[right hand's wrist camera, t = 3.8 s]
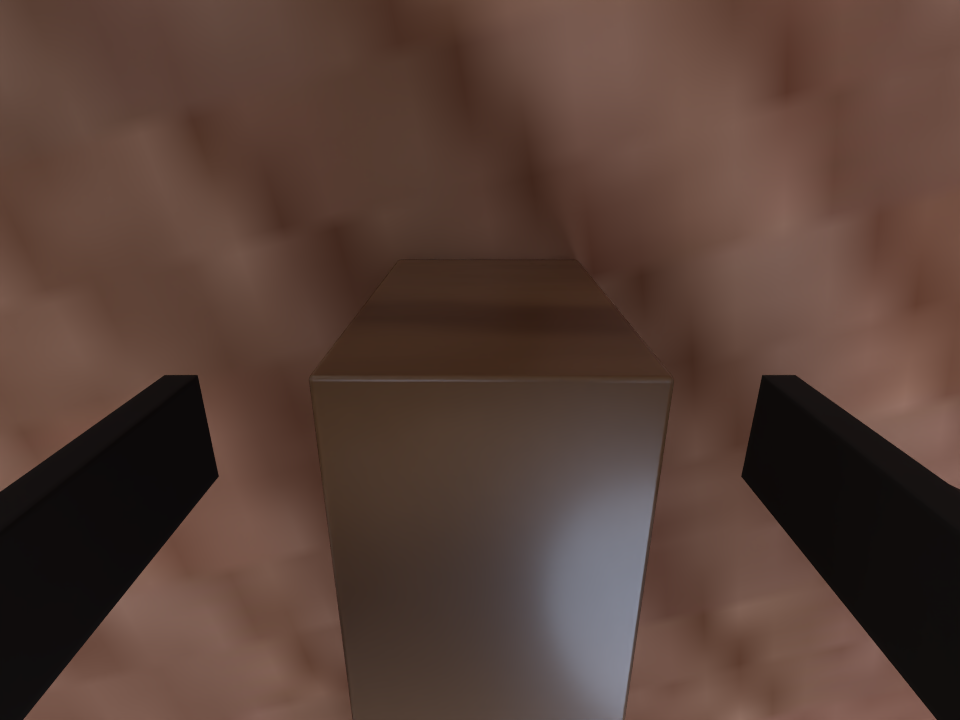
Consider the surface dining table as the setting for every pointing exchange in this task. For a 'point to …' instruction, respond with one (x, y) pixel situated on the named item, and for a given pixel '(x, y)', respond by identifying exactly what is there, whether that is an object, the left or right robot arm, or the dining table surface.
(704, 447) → the dining table surface
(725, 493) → the dining table surface
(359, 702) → the bar
